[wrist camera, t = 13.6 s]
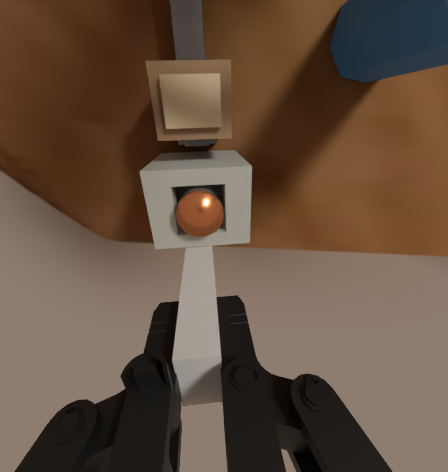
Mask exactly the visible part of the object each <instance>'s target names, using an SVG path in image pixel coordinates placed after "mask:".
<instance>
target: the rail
mask: <svg viewBox="0 0 448 472" xmlns="http://www.w3.org/2000/svg"><path fill="white" fill-rule="evenodd" d="M170 7H171V17H172V26H173V36H174V46H175V55H176V60H205V55H204V37H203V19H202V1H201V0H170ZM209 144H216V139H196V140H178V145H185V147H186V146H209Z"/></svg>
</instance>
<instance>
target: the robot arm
mask: <svg viewBox="0 0 448 472" xmlns="http://www.w3.org/2000/svg"><path fill="white" fill-rule="evenodd" d="M215 288H216V287H215V276H214V263H213V251H212V246H207V247H192V248H186V250H185V258H184V266H183V275H182V283H181V291H180V299H179V301H175V302H163V303H160V304H159V305H158V307H157V308H156V310H155V311H154V313H153V317H152V321H151V325H150V329H149V334H148V337H147V342H146V345H145V349H144V353H143V354H140V355H139V356H137V357H135V358H134V359H132V360H131V361H130V362H129V363H128V364H127V366H126V367H125V368H124V370H123V372H122V374H121V379H122V381H123V383H124V386H125V389H124V390H123V391H121V392H120V393H118V394H116V395H114V396H112V397H110V398H107V399H105V400H103V401H101V402H99V403H96V404H94V403H93V402H91V401H89V400H77V401H74V402H72V403H70V404H68V405H66V406H65V407H64V408H62V409H61V410H60V411H58V412H57V414H56V415H55V416H54V417H53V418H52V419H51V420H50V422H49V423H48V424H47V426H46V427H45V428H44V430H43V431H42V433H41V434H40V436H39V437H38V439H37V440H36V442H35V443H34V444H33V446H32V447H31V449H30V450H29V452H28V453H27V454H26V456H25V457H24V459H23V460H22V462H21V463H20V465H19V466H18V468H17V469H16V471H15V472H179V466H180V450H181V433H182V424H181V417H180V414H181V401H182V405H183V406H187V405H196V404H204V403H213V402H221V401H223V412H224V430H225V442H226V456H227V470H228V472H286V469H285V465H284V461H283V457H282V453H281V449H285V450H287V452H288V454H289V456H290V458H291V460H292V463H293V465H294V467H295V470H296V472H392V470H391V469H390V468H389V466H388V465H387V463H386V462H385V461H384V459H383V458H382V456H381V455H380V454H379V452H378V451H377V449H376V448H375V447H374V445H373V444H372V442H371V441H370V440H369V438H368V437H367V436H366V434H365V433H364V431H363V430H362V428H361V427H360V426H359V424H358V423H357V422H356V420H355V419H354V417H353V416H352V415H351V414H350V412H349V411H348V409H347V408H346V406H345V405H344V403H343V402H342V401H341V399H340V398H339V396H338V395H337V394H336V392H335V391H334V389H333V388H332V387H331V386H330V385H329V384H328V383H327V382H326V381H325V380H323V379H322V378H320V377H318V376H316V375H312V374H302V375H299V376H298V377H297V378H296V379H294V380H292V379H287V378H283V377H279V376H276V375H273V374H271V373H269V372H268V371H266V370H265V369H264V368H263V367H262V366H261V365H260V363H259V362H258V360H257V357H256V355H255V350H254V346H253V342H252V337H251V333H250V328H249V324H248V320H247V315H246V311H245V306H244V303H243V302H242V300H241V299H240V298H239V297H238V296H225V297H216V289H215Z"/></svg>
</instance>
